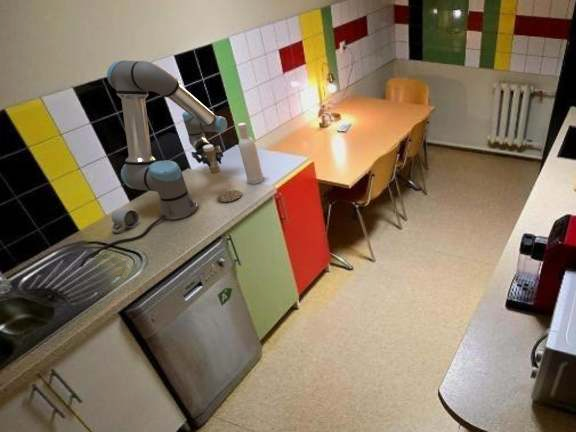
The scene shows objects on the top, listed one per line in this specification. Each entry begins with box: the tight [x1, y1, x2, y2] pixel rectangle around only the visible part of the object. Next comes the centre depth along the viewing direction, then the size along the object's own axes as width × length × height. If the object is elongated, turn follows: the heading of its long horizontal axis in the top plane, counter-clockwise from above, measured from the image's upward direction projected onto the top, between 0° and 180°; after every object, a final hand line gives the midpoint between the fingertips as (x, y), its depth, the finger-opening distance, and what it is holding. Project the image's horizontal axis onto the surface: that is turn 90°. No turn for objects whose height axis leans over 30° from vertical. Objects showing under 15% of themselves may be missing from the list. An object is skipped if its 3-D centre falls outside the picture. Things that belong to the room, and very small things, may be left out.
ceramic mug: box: [111, 208, 140, 234], centre depth 179 cm, size 11×8×8 cm
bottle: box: [237, 122, 264, 185], centre depth 204 cm, size 8×8×30 cm
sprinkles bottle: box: [203, 143, 221, 175], centre depth 195 cm, size 5×5×14 cm
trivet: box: [217, 189, 243, 204], centre depth 199 cm, size 11×11×1 cm
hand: (214, 162), depth 191 cm, fingers closed on sprinkles bottle, 4 cm apart
